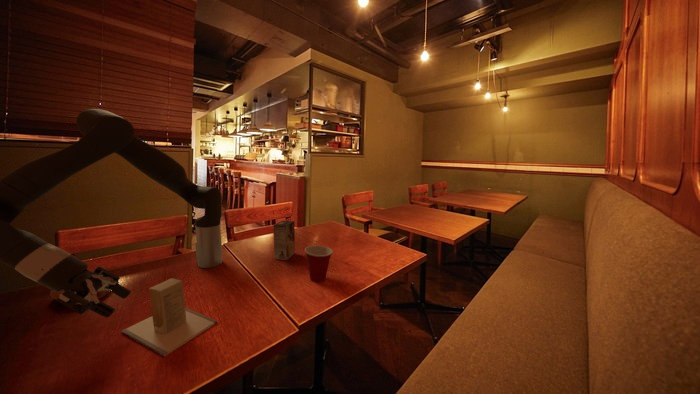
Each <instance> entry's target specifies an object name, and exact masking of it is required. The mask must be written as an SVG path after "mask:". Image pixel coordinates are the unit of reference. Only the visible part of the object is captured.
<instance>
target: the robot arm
mask: <svg viewBox="0 0 700 394" xmlns="http://www.w3.org/2000/svg"><path fill="white" fill-rule="evenodd" d="M76 127H77V129H78V131H79V132H80V134H81V135H82V137H81V138H79V139H78V140H77V141H75V142H74V143H72V144H70V145H68V146H66V147H64V148H61V149H60V150H57V151H54V152H52V153H49V154H46V155H44V156H43V155H42V156H40V157H37V158H35V159H32V160H30V161H27V162H26V163H24V164H21V165H20V166H18V167H17V168H15V169H13V170H12V171H10V172H9V173H7V174H5V175H4V176H3V177H1V178H0V263H2V264H4V265H6V266H7V267H9V268H12V269H14V270H16V271H17V272H18V273H20V274H21V275H23V277H25V278H28V279H30V280H31V281H34V282H35V283H37V284H39V285H41V286H43V287H46V288H47V289H49V290H51V291H52V290H53V291H55V292H59V291H61V290H64V292H63V293H62V294H61V295H60V296H59V297H58V298H57V299H56V300H55V301H56V302H57V303H59V304H61V305H62V306H64V307H66V308H68V309H70V310H72V311H74V312H75V313H77V314H79V315H84V314H85V313H86V312H93V313H96V314H97V315H99V316H101V317H104V318H110V317H111V315H113V313H114V312H116V309H115V308H114V307H113V306H111V305H109V304H107V303H105V302H103V301H100V300H99V299H98V298H97V296H96V295H97V292H96V291H101V290H109V291H111V290H112V291H111V292H110V293H112V294H114V295H116V296H117V297H119V298H121V299H123V300H124V299H126V298H127V297H128V296H129V295H130V294H131V293H132V291H131V290H129V289H128V288H126V287H125V286H123V285H121V284H120V280H121V277H120V276H118V275H117V274H115V273H113V272H111V271H109V270H107V269H106V268H104V267H102V266H97V267H96V268H94V270H92V271H90V270H89V269H88V268H89V264H88V263H87V262H85V261H83V260H82V259H79V258H78V257H76V256H74V255H73V254H71V253H69V252H68V251H66V250H64V249H63V248H62V247H61V248H60V247H59V246H55V245H54V244H51V243H49V242H48V241H46V240H44V239H42V238H41V237H39V236H37V235H35V234H34V233H31V232H29V231H27V230H24V229H19V228H18V227H15V226H14V225H12V222H14V221H15V220H16V219H17V218H19V216H20V215H21V214H22V213H23V212H24V210H25V209H27V207H29V206H30V205H32V204H33V203H35V202H36V201H38V200H39V199H41V198H42V197H44V196H45V195H46V194H48V193H49V192H50V191H52V190H53V189H55V188H56V187H57V186H59V185H60V184H62V183H64V182H65V181H67V180H68V179H69V178H71V177H72V176H74V175H76V174H77V173H79V172H81V171H83V170H84V169H86V168H88V167H90V166H92V165H94V164H95V163H97V162H100V161H101V160H102V159H104V158H106V157H108V156H110V155H112V154H117V155H118V156H120V157H121V158H123V159H124V160H126V161H127V162H128V163H129V164H130V165H132V166H133V167H134V168H136V169H137V170H138V171H140V172H141V173H143V174H144V175H146V176H147V177H148V178H149V179H151V180H153V181H155V182H156V183H157V184H160V185H161V186H163V187H165V188H167V189H168V190H169V191H171V192H173V193H174V194H176V195H178V196H179V197H180V198H182V199H183V200H184V201H185V202H187V204H189V205H190V206H192V207H193V208H195V209H200V210H201V209H202V210H204V214H203V216H202V215H201V216H199V217H197V218H196V219H195V221H194V225H195V239H196V242H195V254H196V255H195V257H196V259H195V260H196V264H197V267H199V268H201V269H210V268H215V267H218V266H219V265H222V264H223V247H222V246H223V245H222V229H221V221H222V220H221V219H222V215H223V214H222V213H223V212H222V211H223V210H222V209H223V198H222V193H221V191H220V189H219V188H218V187H214V186H206V185H205V186H204V185H203V186H201V185H199V184H196V183H194V182H193V181H191V180H190V179H188V175H187V172H186V170H185V167H184V166H182V165H181V163H179V162H178V161H176V159H174V158H173V157H172V156H170V155H168V154H167V153H166V152H164V151H162V150H160V149H159V148H157V147H155V146H153V145H151V144H149V143H148V142H146V141H144V140H142V138H139V137H138V136H137V135H135V134H136V132H135V131H136V130H135V128H134V126H133V124H132V123H131V122H130V121H129V120H127V118H124V117H123V116H120V115H118V114H115V113H113V112H110V111H108V110H104V109H99V108H89V109H86V110H83V111H81V112H80V113H79V114H78V115H77V117H76ZM108 277H111V278H112V280H110V278H108ZM101 281H102V282H101ZM107 285H109V286H107ZM84 297H85V298H84ZM90 300H91V302H90ZM77 303H79V304H77ZM79 305H82V306H79Z"/></svg>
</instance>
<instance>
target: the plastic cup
mask: <svg viewBox="0 0 700 394" xmlns="http://www.w3.org/2000/svg"><path fill="white" fill-rule="evenodd" d="M304 253H305V256H306V261H307V268H308V273H309V279H310V281H311V282H313V283H323V282H325V281H326V277H327V274H328V273H327V272H328V269H329V263H330V260H331V257H332V255H333V253H334V250H333V249H332V248H330V247H328V246H323V245H310V246H306V247H305V248H304Z"/></svg>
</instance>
